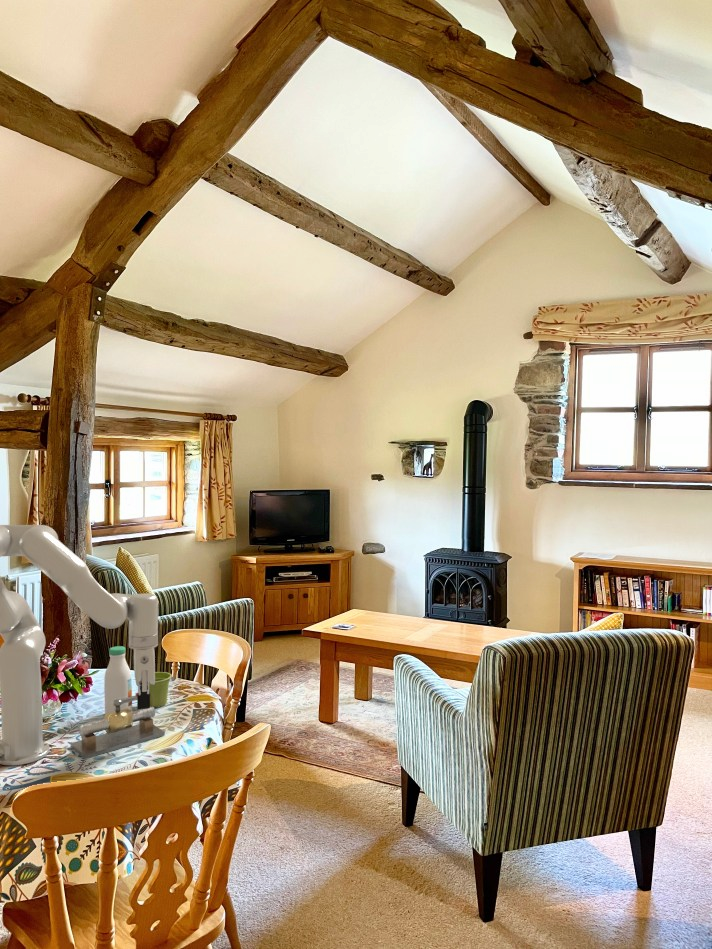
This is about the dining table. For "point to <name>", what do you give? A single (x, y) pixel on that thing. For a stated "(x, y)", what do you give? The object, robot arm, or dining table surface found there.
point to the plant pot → (159, 689)
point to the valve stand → (116, 732)
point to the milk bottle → (117, 680)
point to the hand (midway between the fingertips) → (143, 707)
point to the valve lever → (124, 700)
